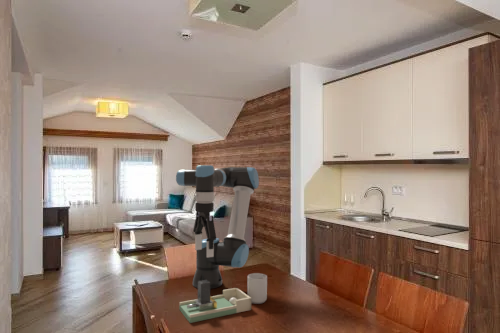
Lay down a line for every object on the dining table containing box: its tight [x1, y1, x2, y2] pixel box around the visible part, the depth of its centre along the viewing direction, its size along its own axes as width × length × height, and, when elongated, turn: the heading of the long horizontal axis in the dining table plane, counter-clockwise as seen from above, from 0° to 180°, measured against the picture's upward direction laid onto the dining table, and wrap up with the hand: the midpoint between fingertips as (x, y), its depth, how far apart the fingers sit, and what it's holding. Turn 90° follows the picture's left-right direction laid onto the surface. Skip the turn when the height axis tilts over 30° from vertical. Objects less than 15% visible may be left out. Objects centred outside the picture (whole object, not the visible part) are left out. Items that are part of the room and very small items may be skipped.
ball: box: [229, 297, 237, 306], centre depth 146 cm, size 4×4×4 cm
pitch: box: [178, 287, 252, 324], centre depth 142 cm, size 14×27×5 cm, turn 118°
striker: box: [187, 280, 217, 311], centre depth 139 cm, size 8×11×10 cm
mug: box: [246, 272, 268, 305], centre depth 154 cm, size 12×9×11 cm
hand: (204, 253), depth 140 cm, fingers open, 13 cm apart
